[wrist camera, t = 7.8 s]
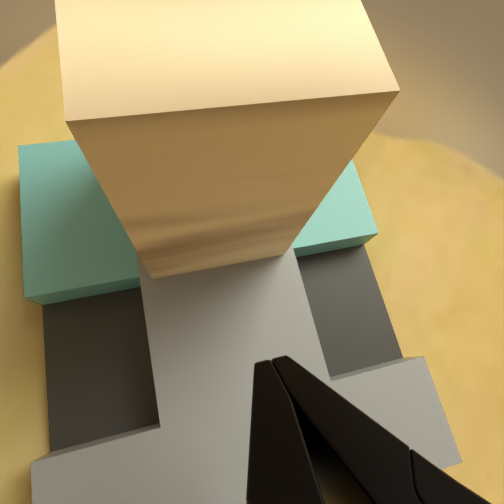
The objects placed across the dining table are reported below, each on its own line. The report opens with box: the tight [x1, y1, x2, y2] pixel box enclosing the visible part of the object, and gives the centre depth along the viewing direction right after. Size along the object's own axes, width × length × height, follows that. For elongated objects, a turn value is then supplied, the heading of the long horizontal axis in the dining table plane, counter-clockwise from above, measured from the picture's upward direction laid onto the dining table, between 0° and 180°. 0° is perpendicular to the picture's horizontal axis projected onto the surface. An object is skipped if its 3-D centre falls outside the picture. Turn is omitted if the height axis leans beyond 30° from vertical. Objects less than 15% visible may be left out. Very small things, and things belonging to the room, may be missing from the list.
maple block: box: [55, 0, 400, 279], centre depth 12 cm, size 7×6×10 cm
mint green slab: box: [18, 140, 379, 305], centre depth 17 cm, size 7×16×2 cm, turn 103°
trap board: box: [31, 244, 462, 504], centre depth 16 cm, size 18×16×2 cm
